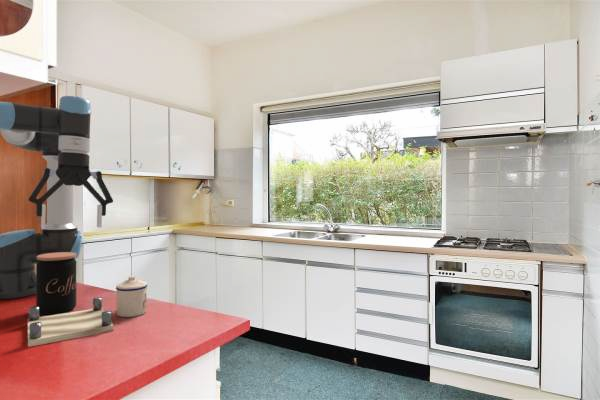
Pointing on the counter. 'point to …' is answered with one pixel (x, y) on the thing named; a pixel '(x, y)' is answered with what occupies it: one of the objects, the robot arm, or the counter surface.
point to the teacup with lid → (131, 297)
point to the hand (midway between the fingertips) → (72, 227)
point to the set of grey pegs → (36, 327)
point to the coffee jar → (56, 283)
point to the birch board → (69, 326)
